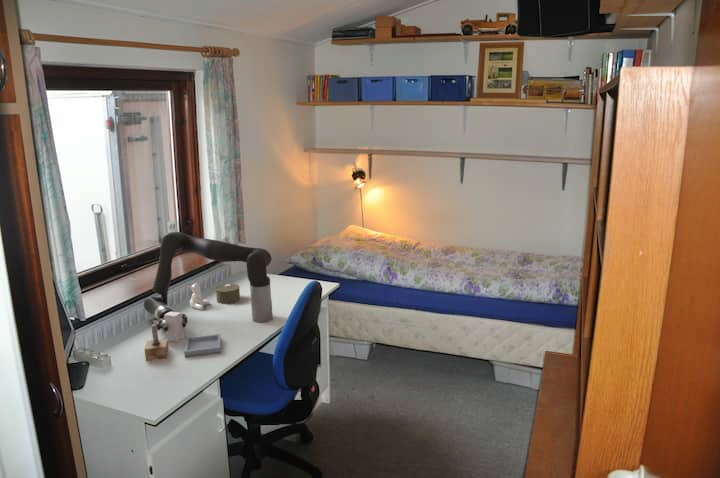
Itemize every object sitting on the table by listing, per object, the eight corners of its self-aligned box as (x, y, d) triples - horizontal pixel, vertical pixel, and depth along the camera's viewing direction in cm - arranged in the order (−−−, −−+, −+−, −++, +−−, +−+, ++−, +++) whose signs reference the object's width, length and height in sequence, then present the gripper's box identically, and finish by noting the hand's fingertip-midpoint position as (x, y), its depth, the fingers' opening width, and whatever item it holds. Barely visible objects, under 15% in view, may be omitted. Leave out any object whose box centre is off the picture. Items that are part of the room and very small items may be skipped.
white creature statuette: (201, 310, 276) (199, 287, 273) (185, 309, 277) (183, 286, 274) (210, 303, 285) (208, 281, 282) (195, 302, 286) (192, 280, 283)
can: (215, 305, 283) (214, 292, 281) (217, 297, 294) (216, 284, 292) (240, 303, 285) (239, 290, 283) (240, 295, 296) (239, 282, 294)
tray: (220, 339, 243) (220, 333, 242) (220, 353, 230) (220, 347, 229) (187, 342, 240) (186, 337, 239) (184, 357, 226) (184, 351, 226)
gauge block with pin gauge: (168, 349, 233) (165, 320, 230) (166, 358, 226) (163, 328, 223) (148, 352, 232) (144, 322, 228) (145, 360, 224) (142, 330, 221)
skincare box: (184, 338, 244) (181, 312, 241) (178, 342, 240) (175, 316, 237) (172, 336, 246) (170, 311, 243) (166, 340, 242) (163, 314, 239)
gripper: (147, 310, 249) (157, 322, 235) (180, 303, 256) (191, 315, 243) (149, 326, 250) (159, 339, 237) (182, 319, 258) (193, 331, 245)
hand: (175, 327), depth 240 cm, fingers closed on skincare box, 6 cm apart
